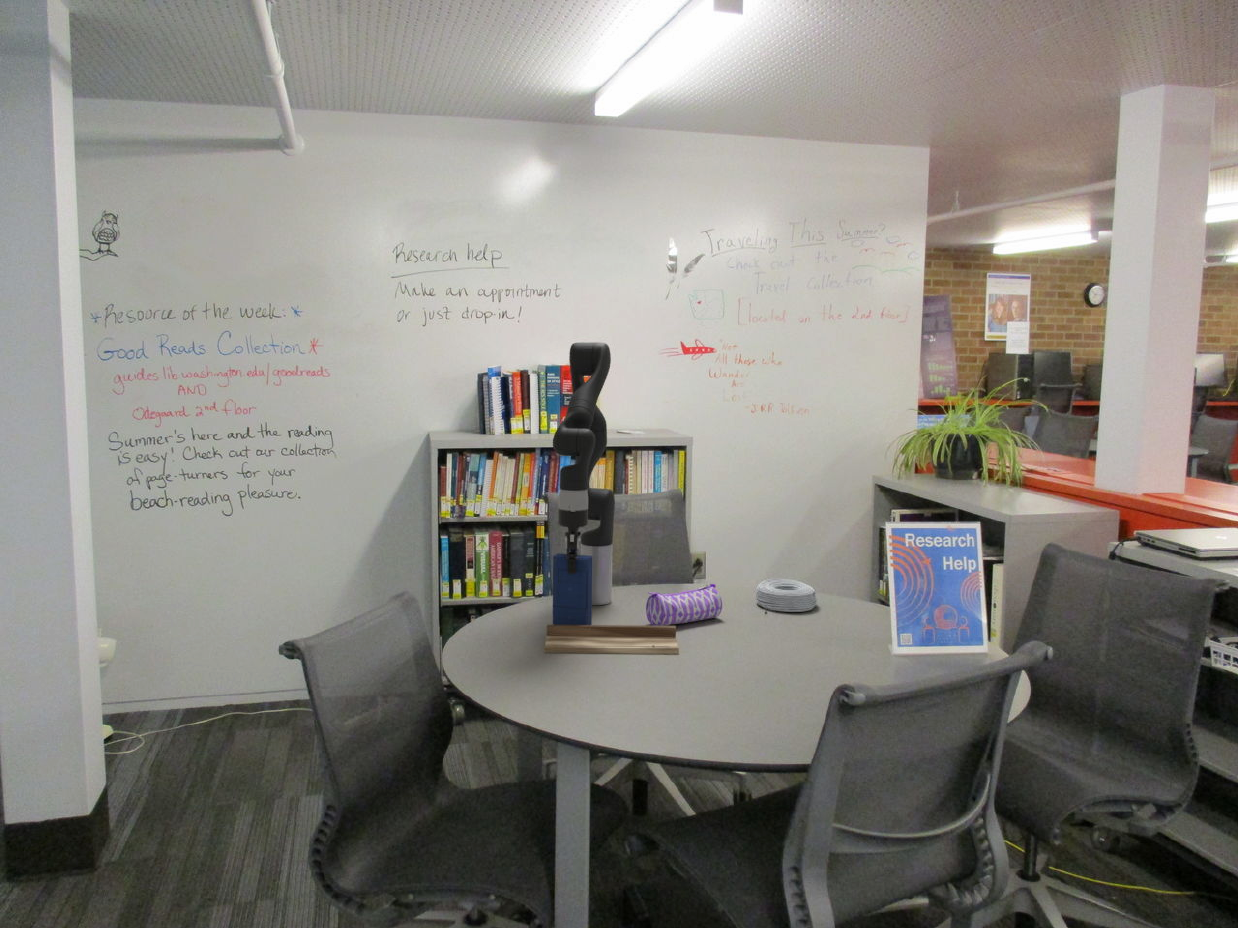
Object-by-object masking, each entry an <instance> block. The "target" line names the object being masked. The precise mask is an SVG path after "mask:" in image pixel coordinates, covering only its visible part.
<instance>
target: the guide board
mask: <svg viewBox="0 0 1238 928" xmlns="http://www.w3.org/2000/svg"><path fill="white" fill-rule="evenodd" d="M676 626H677V625H666V626H653V625H644V624H643V625H642V624H641V625H638V624H637V625H636V624H635V625H633V624H632V625H630V624H626V625H624V624H612V625H611V624H608V625H607V624H591V625H553V624H547V625H546V637H545V638H546V639H545V644H544V653H545V652H564V653H563V654H567V653H566V652H573V653H572V654H642V655H643V654H651V655H652V654H654V655H655V654H656V655H657V654H659V655H660V654H662V655H663V654H665V655H667V654H668V655H672V654H673V655H675V654H676V655H678V654H679V652H680V651H679V650H680V648H679V644H678V640H677V627H676ZM574 652H576V653H574Z"/></svg>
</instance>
